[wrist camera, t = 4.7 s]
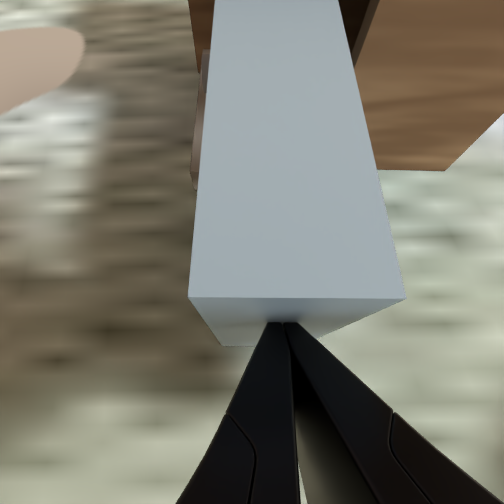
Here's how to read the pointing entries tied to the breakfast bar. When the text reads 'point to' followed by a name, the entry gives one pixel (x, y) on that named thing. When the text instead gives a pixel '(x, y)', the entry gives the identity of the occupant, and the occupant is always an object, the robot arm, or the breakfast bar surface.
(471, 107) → the cubby cabinet
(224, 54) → the gray rectangular box
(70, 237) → the breakfast bar surface
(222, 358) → the breakfast bar surface
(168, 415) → the breakfast bar surface
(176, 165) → the breakfast bar surface
